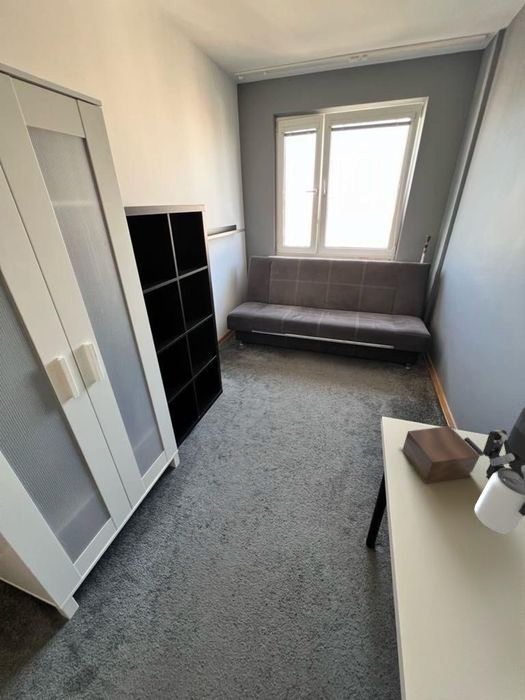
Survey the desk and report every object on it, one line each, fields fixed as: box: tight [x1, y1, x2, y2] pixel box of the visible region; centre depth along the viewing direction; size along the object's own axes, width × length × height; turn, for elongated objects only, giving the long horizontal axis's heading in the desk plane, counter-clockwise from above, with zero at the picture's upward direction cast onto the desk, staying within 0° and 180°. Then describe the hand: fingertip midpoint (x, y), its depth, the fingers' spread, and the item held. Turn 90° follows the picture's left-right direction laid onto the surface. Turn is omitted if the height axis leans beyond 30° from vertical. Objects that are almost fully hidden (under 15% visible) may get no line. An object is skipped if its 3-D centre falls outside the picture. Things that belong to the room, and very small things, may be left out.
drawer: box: [451, 428, 485, 473], centre depth 83 cm, size 17×10×7 cm, turn 97°
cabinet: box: [401, 425, 480, 483], centre depth 83 cm, size 14×12×9 cm
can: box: [474, 467, 525, 535], centre depth 54 cm, size 6×6×12 cm
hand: (507, 494), depth 53 cm, fingers closed on can, 6 cm apart
